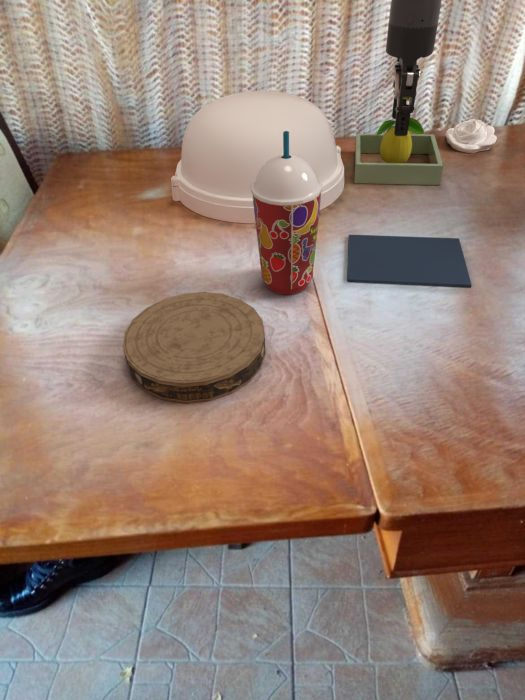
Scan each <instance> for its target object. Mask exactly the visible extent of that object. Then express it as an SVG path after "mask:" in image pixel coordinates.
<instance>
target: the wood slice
mask: <svg viewBox="0 0 525 700" xmlns="http://www.w3.org/2000/svg"><path fill="white" fill-rule="evenodd" d="M264 326H265V325H264V321H263V319H262V317H261V316H260V314H259V313H258V311H257V310H256V309H255V307H253V306H251V305H250V304H249V303H247V302H245V301H244V300H243V299H240V298H239V297H238V298H237V297H234V296H233V295H232V296H231V295H228V294H225V293H219V292H209V291H199V292H187V293H182V294H177V295H174V296H170V297H166V298H163V299H161V300H159V301H157V302H154V303H153V304H151V305H148V306H147V307H146V308H144V309H143V310H142V311H140V313H138V314H137V315H136V316H135V317H133V319H132V320H131V322H130V323H129V324H128V326H127V327H126V329H125V331H124V335H123V341H122V350H123V353H124V357H125V360H126V364H127V368H128V370H129V373H130V376H131V379H132V381H133V382H134V383H135V384H136V385H137V386H138V387H139V388H141V390H142V391H143V392H145V393H146V394H149V395H150V396H153V397H155V398H158V399H160V400H163V401H166V402H167V401H168V402H172V403H181V404H193V403H203V402H211V401H214V400H217V399H220V398H223V397H227V396H229V395H232V394H233V393H235V392H237V391H238V390H240V389H241V388H243V387H244V386H246V385H247V384H249V383H250V382H251V381H252V380H253V378H254V377H256V376H257V374H258V372H260V370H261V369H262V366H263V363H264V360H265V357H266V333H265V327H264Z"/></svg>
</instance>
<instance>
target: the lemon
mask: <svg viewBox="0 0 525 700" xmlns="http://www.w3.org/2000/svg"><path fill="white" fill-rule="evenodd" d="M395 121H396V120H394V119H388V120H385V121H383V122H382V124H381V125H380V126H379V128H378V129H377V132H376V133H375V134H376V135H380V134H384V136H383V138H382V141H381V146H380V153H379V154H380V158H381V160H382V161H383V163H407V161H408V159H409V158H410V157H411V155H412V154H411V150H412V139H411V135H410V134H411V133H412V134H425V131H424V128H423V125H422V124H421V122H420V121H418V119H416V118H414V117H410V121H409V128H408V134H407V135H406V136H395V134H394V129H395Z"/></svg>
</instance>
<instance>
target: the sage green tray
mask: <svg viewBox="0 0 525 700" xmlns="http://www.w3.org/2000/svg"><path fill="white" fill-rule="evenodd" d="M376 134H377V133H355V142H354V143H355V144H354V170H353V172H354V175H353V183H354V184H365V185H366V184H367V185H368V184H371V185H372V184H374V185H411V186H412V185H413V186H415V185H416V186H440V185H441V179H442V175H443V170H444V169H443V168H444V164H443V161H442V157H441V154H440V150H439V147H438V143H437V139H436V135H435V134H433V133H432V134H430V133H429V134H427V133H424V134H416V133H410V135H411V139H412V150H411V154H410V155H427V158H428V162H429V163H410V162H409V163H408V162H404V163H386V162H362V161H361V154H380V146H381V141H382V138H383V136H384V134H385V133H382V134H380V135H376Z"/></svg>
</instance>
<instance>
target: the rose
mask: <svg viewBox="0 0 525 700" xmlns="http://www.w3.org/2000/svg"><path fill="white" fill-rule="evenodd" d="M445 138H446V143H447V144H449V146H450V147H451V149H453V150H455V151H457V152H460V153H466V154H467V153H468V154H474V153H478V152H483V151H488V150H489V151H490V149H491V148H492V147H493V146H494V145H495V143H496V142H497V140H498V137H497V135H496V134H495V127H494V126H492V125H490V124H487V125H486V124H485V123H484V121H482V120H480V119H474V118H470V119H467V120H465V121H462V122H460V123H458V124H456V125H455V126H454V127H450V128H448V129H447V130H446V131H445Z"/></svg>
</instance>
